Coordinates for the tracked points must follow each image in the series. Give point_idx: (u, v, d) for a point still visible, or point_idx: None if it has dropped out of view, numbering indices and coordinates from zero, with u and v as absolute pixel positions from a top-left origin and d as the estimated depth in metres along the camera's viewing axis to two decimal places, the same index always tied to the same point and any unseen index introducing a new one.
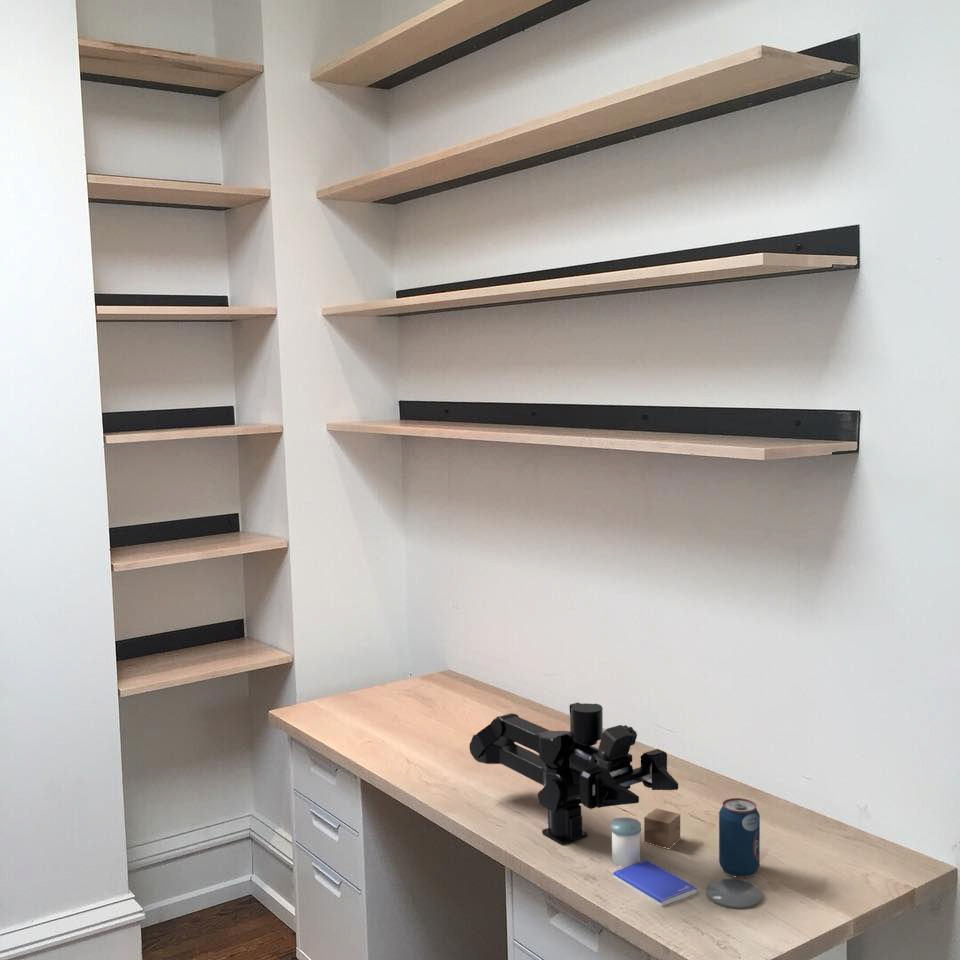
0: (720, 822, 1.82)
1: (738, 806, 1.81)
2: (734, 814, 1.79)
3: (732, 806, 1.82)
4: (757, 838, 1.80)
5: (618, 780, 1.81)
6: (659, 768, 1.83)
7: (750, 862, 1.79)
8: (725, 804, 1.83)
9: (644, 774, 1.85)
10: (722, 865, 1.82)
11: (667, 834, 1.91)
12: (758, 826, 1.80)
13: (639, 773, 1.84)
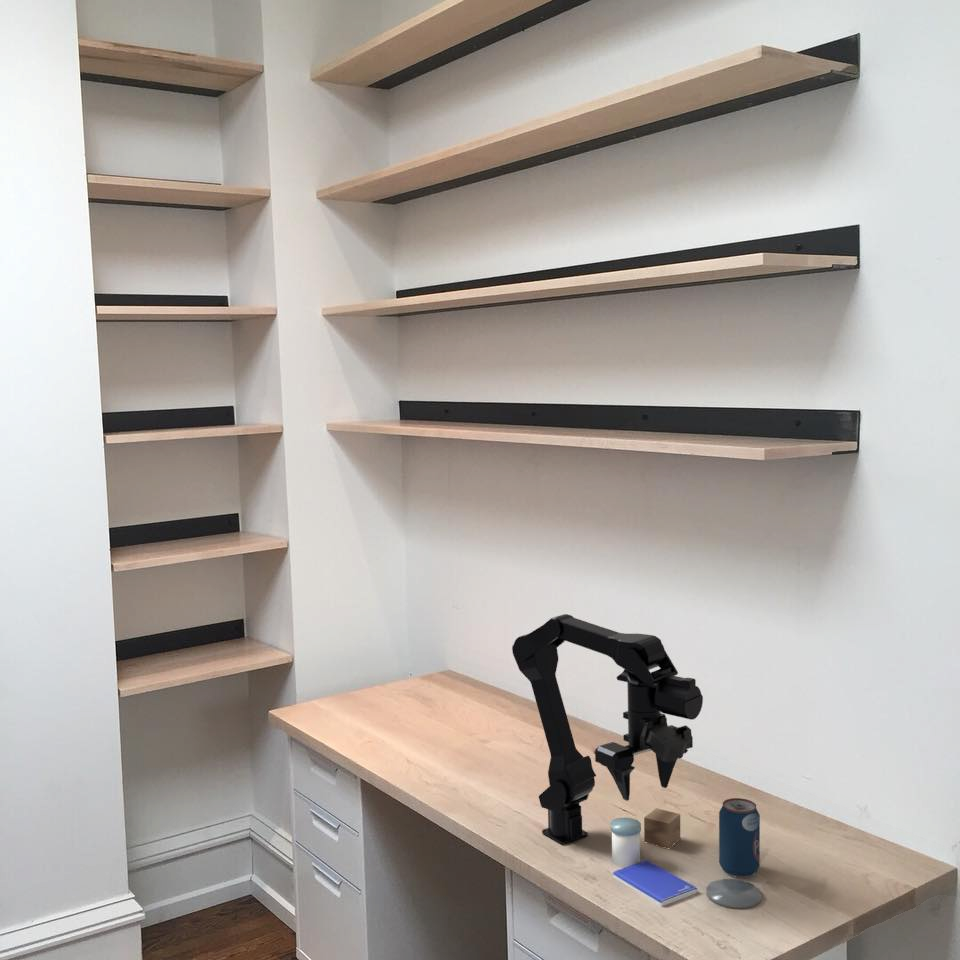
0: (720, 822, 1.82)
1: (738, 806, 1.81)
2: (734, 814, 1.79)
3: (732, 806, 1.82)
4: (757, 838, 1.80)
5: (636, 753, 1.83)
6: (671, 761, 1.86)
7: (750, 862, 1.79)
8: (725, 804, 1.83)
9: None
10: (722, 865, 1.82)
11: (667, 834, 1.91)
12: (758, 826, 1.80)
13: None
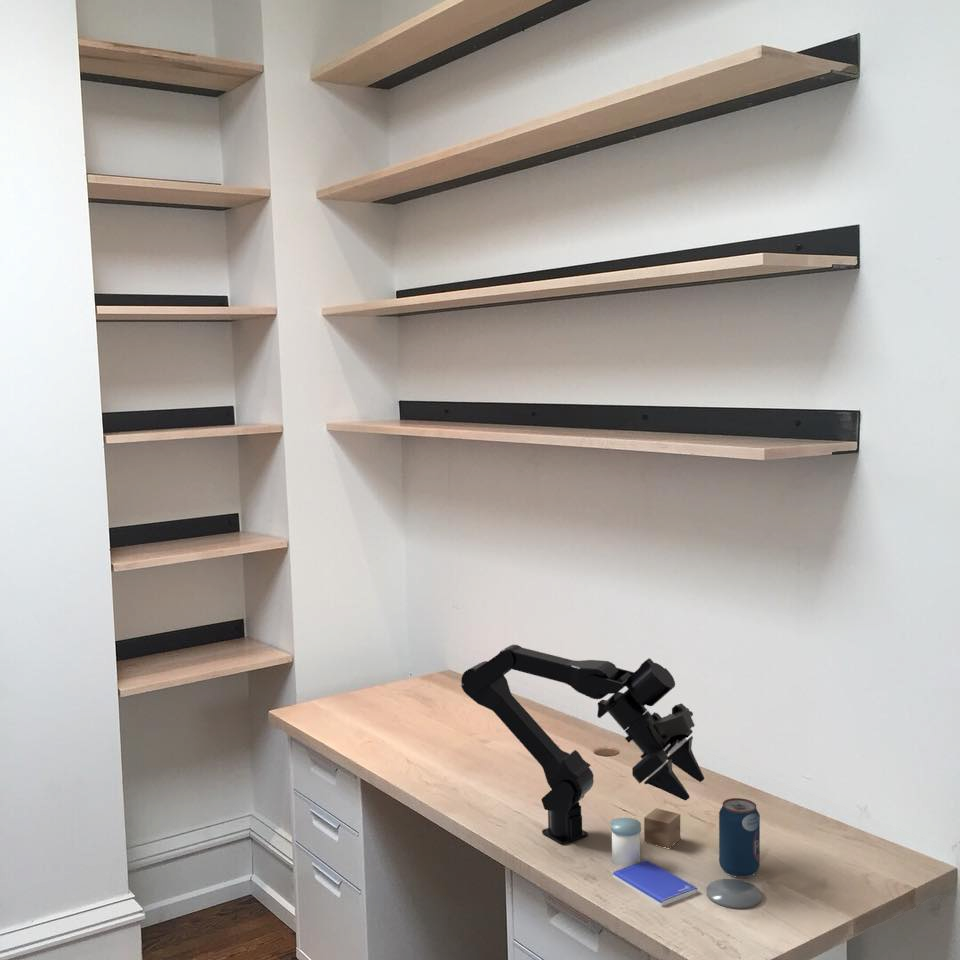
0: (720, 822, 1.82)
1: (738, 806, 1.81)
2: (734, 814, 1.79)
3: (732, 806, 1.82)
4: (757, 838, 1.80)
5: None
6: (689, 752, 1.90)
7: (750, 862, 1.79)
8: (725, 804, 1.83)
9: (671, 747, 1.91)
10: (722, 865, 1.82)
11: (667, 834, 1.91)
12: (758, 826, 1.80)
13: (671, 748, 1.90)
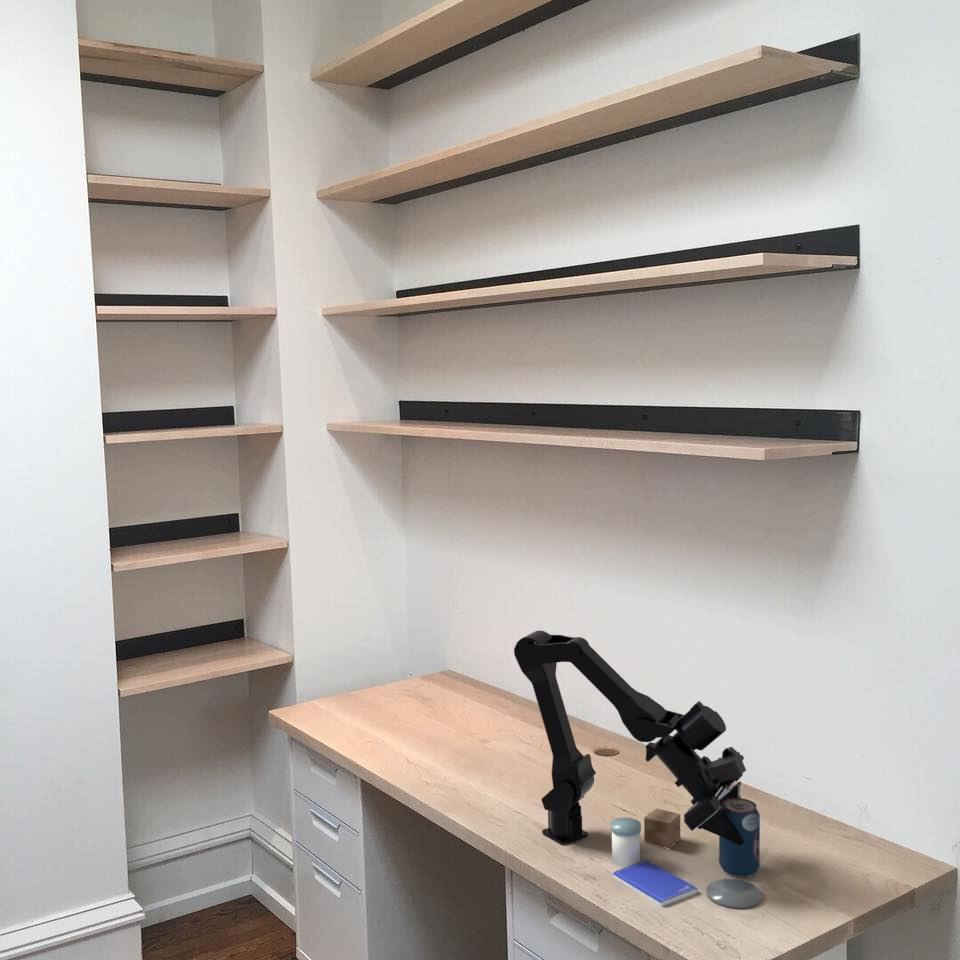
0: None
1: (738, 806, 1.81)
2: (734, 814, 1.79)
3: (732, 806, 1.82)
4: (757, 838, 1.80)
5: None
6: None
7: (750, 862, 1.79)
8: None
9: (721, 791, 1.87)
10: (722, 865, 1.82)
11: (667, 834, 1.91)
12: (758, 826, 1.80)
13: (721, 792, 1.86)
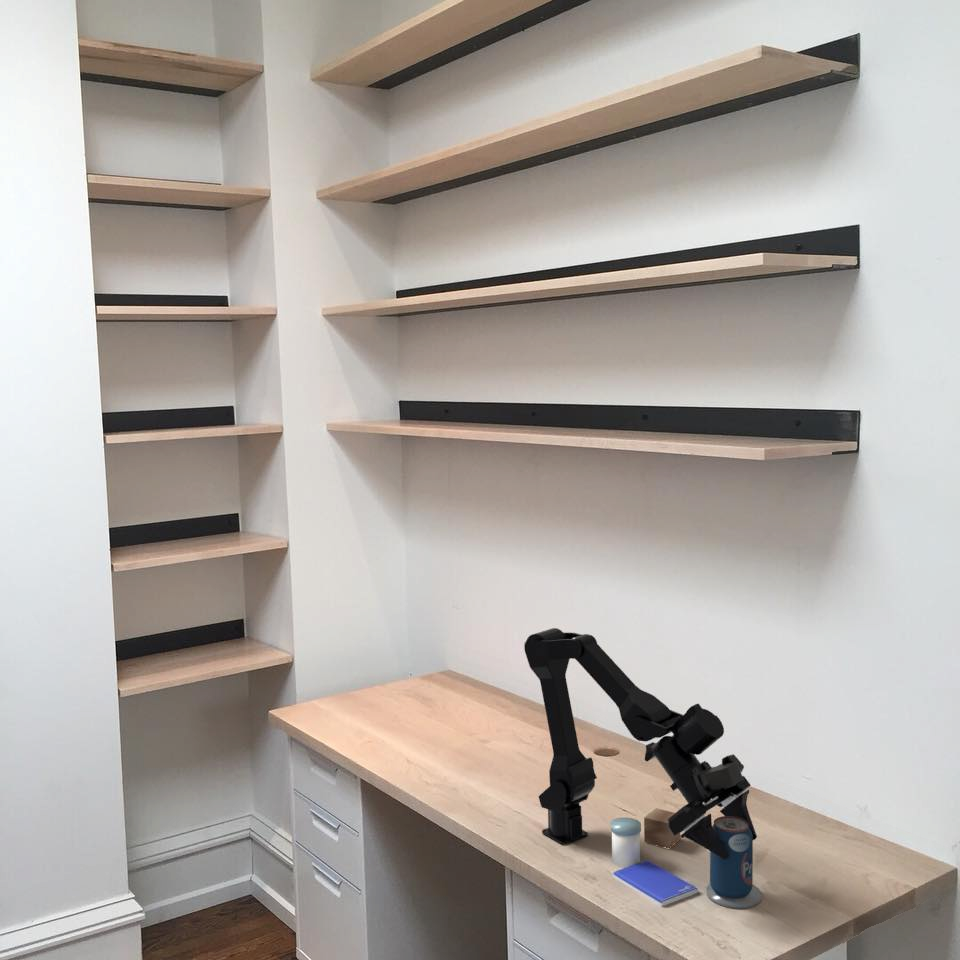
0: None
1: (729, 824, 1.73)
2: (721, 832, 1.71)
3: (724, 824, 1.74)
4: (747, 860, 1.71)
5: (706, 811, 1.74)
6: (743, 807, 1.77)
7: (737, 885, 1.70)
8: (717, 821, 1.74)
9: (723, 800, 1.79)
10: (711, 884, 1.74)
11: (667, 834, 1.91)
12: (748, 848, 1.71)
13: (722, 801, 1.78)
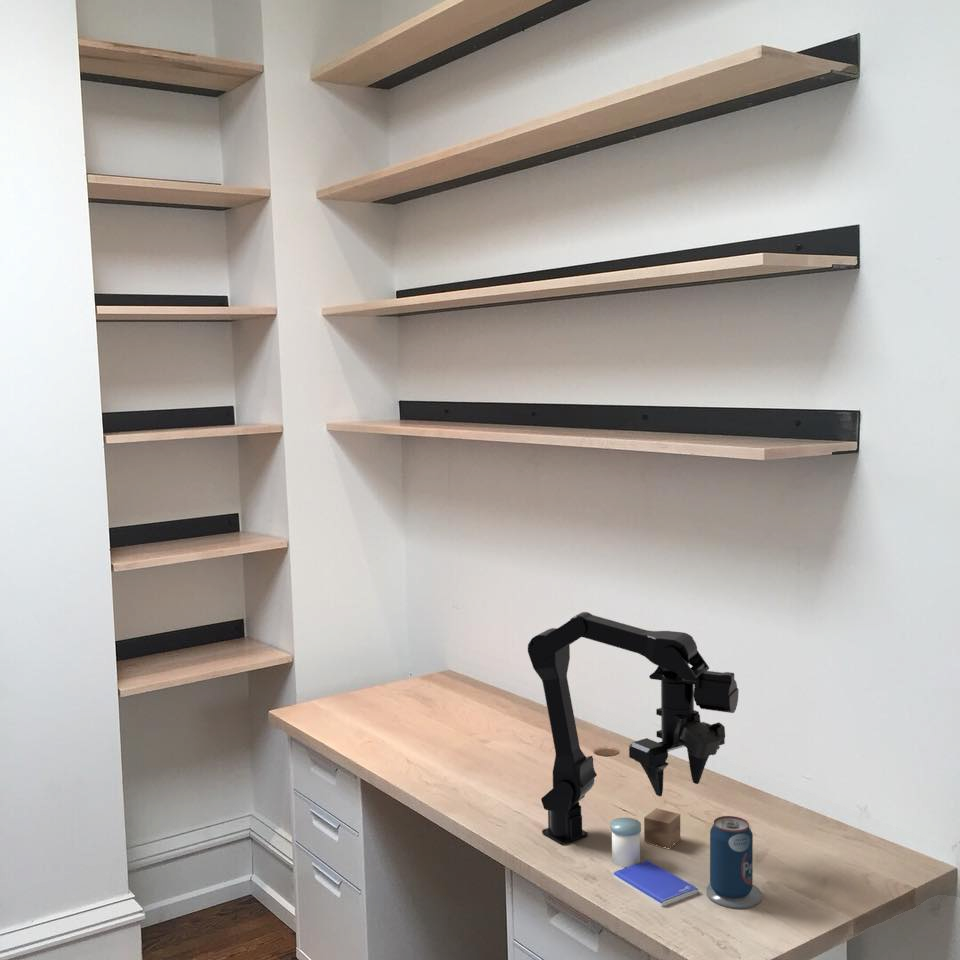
0: (710, 840, 1.74)
1: (729, 824, 1.73)
2: (721, 832, 1.71)
3: (724, 824, 1.74)
4: (747, 860, 1.71)
5: None
6: (704, 757, 1.88)
7: (737, 885, 1.70)
8: (717, 821, 1.74)
9: None
10: (711, 884, 1.74)
11: (667, 834, 1.91)
12: (748, 848, 1.71)
13: None
